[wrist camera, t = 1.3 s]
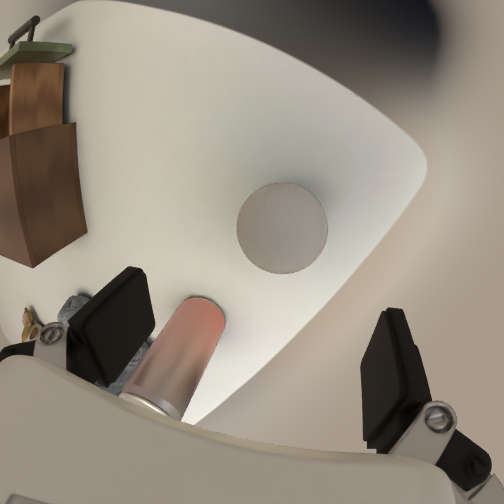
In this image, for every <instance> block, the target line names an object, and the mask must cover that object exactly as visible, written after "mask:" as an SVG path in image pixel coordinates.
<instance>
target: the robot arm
mask: <svg viewBox="0 0 504 504" xmlns="http://www.w3.org/2000/svg"><path fill="white" fill-rule="evenodd" d="M68 324H69V327H68V328H66V326H65V325H64V324H63V323H60V322H52V323H49V324H47V325H45V326H44V327H42V328H41V329H40V330H39V332H38V334H37V337H36V340H33V341H28V342H23V343H19V344H14V345H10V346H7V347H5V348H3V349H2V351H1V352H0V504H504V487H503V485H502V484H501V482H500V481H499V479H498V478H497V476H496V475H495V474H493V475H491V474H490V472H491V467H492V463H491V458H490V456H489V454H488V453H487V452H486V451H485V450H483V449H482V448H481V447H479V446H478V445H477V444H475V443H474V442H472V441H471V440H470V439H469V438H467V437H466V436H465V435H463V434H462V433H461V432H459V431H458V430H457V429H455V428H456V425H457V417H456V413H455V411H454V410H453V408H452V407H451V406H450V405H448V404H447V403H445V402H443V401H432V398H431V394H430V389H429V386H428V381H427V378H426V374H425V370H424V367H423V363H422V359H421V356H420V353H419V349H418V347H417V346H416V345H415V344H414V342H413V339H412V335H411V332H410V329H409V326H408V323H407V320H406V317H405V315H404V312H403V310H402V309H399V308H387V309H386V311H382V312H381V315H380V317H379V320H378V322H377V325H376V327H375V330H374V333H373V335H372V338H371V340H370V342H369V345H368V347H367V350H366V352H365V354H364V357H363V359H362V361H361V367H360V371H361V387H362V411H363V440H364V441H367V449H376V450H377V454H372V453H350V452H334V451H322V450H312V449H303V448H295V447H288V446H281V445H274V444H269V443H263V442H258V441H253V440H248V439H243V438H239V437H235V436H231V435H226V434H222V433H219V432H215V431H211V430H208V429H204V428H201V427H197V426H194V425H191V424H188V423H185V422H181V421H178V420H176V419H173V418H170V417H167V416H164V415H161V414H159V413H156V412H154V411H151V410H148V409H146V408H143V407H141V406H139V405H136V404H134V403H131V402H129V401H127V400H125V399H122V398H120V397H118V396H116V395H114V394H111V393H109V392H107V391H105V390H103V389H101V388H99V387H97V386H95V385H94V384H95V382H96V381H97V383H98V384H99V385H101V386H103V387H105V388H107V389H108V387H109V386H110V384H111V383H114V382H116V380H117V379H118V378H119V376H120V375H121V373H122V372H123V371H124V369H125V368H126V367H127V365H128V364H129V362H130V361H131V360H132V358H133V357H134V356H135V354H136V353H137V352H138V350H139V349H140V348H141V346H142V345H143V344H144V342H145V341H146V340H147V338H148V337H149V336H150V334H151V333H152V332H153V330H154V328H155V319H154V314H153V309H152V304H151V299H150V294H149V289H148V283H147V277H146V274H145V273H144V272H143V270H142V269H141V268H136V267H131V266H129V267H127V268H126V269H125V270H123V271H122V272H121V273H120V274H119V275H118V276H116V277H115V278H114V279H113V280H112V281H111V282H109V283H108V284H107V285H106V286H105V287H104V288H103V289H101V290H100V291H99V292H98V293H97V294H96V295H95V296H94V297H92V298H91V299H90V300H89V301H88V302H87V303H86V304H85V305H84V306H83V307H82V308H80V309H79V310H78V311H77V312H76V313H75V314H74V315H73V316H72V317H71V318H70V319H69V320H68Z"/></svg>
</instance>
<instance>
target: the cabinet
mask: <svg viewBox="0 0 504 504" xmlns="http://www.w3.org/2000/svg"><path fill="white" fill-rule="evenodd" d="M86 233H87V228H86V223H85V217H84V211H83V204H82V197H81V190H80V181H79V172H78V160H77V145H76V123H68V124H62V125H56V126H51V127H45V128H40V129H35V130H31V131H26V132H22V133H18V134H14V135H10V136H7V137H5V138H3V139H1V140H0V255H1V256H4V257H6V258H8V259H11V260H13V261H16V262H18V263H20V264H23V265H25V266H28V267H30V268H34V267H36V266H37V265H38V264H40V263H41V262H43V261H44V260H46V259H47V258H49V257H50V256H52V255H53V254H55V253H56V252H58V251H59V250H61V249H62V248H64V247H65V246H67V245H68V244H70V243H72V242H73V241H75V240H76V239H78V238H79V237H81V236H83V235H84V234H86Z"/></svg>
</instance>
